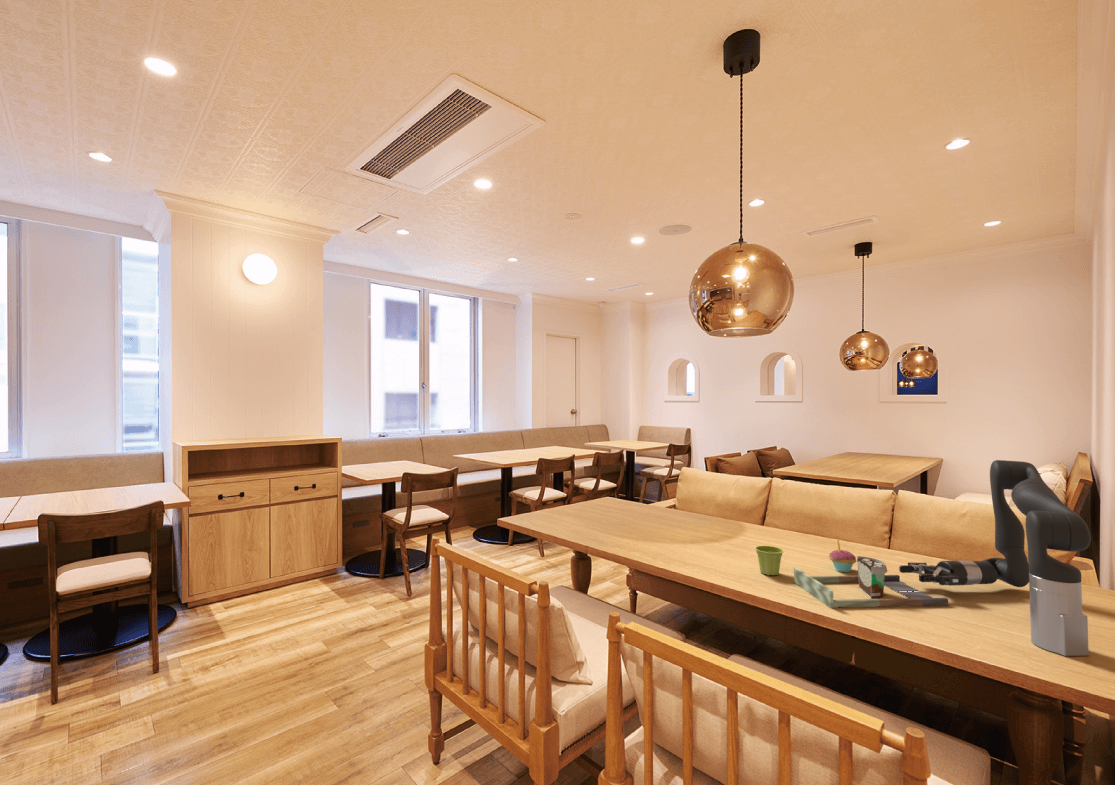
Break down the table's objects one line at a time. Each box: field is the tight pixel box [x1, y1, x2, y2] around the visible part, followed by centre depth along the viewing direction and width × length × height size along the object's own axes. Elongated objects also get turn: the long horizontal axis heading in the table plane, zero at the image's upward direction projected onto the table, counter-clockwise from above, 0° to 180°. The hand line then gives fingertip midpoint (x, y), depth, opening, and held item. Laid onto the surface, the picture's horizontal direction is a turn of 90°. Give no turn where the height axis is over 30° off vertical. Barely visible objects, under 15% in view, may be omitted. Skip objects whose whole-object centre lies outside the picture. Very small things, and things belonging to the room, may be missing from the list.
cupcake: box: [828, 537, 857, 573], centre depth 179 cm, size 9×8×12 cm
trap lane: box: [793, 567, 949, 609], centre depth 157 cm, size 21×36×5 cm, turn 92°
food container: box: [856, 555, 888, 599], centre depth 157 cm, size 12×6×10 cm, turn 168°
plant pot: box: [754, 545, 785, 576], centre depth 176 cm, size 9×9×9 cm
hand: (909, 573), depth 158 cm, fingers open, 8 cm apart
